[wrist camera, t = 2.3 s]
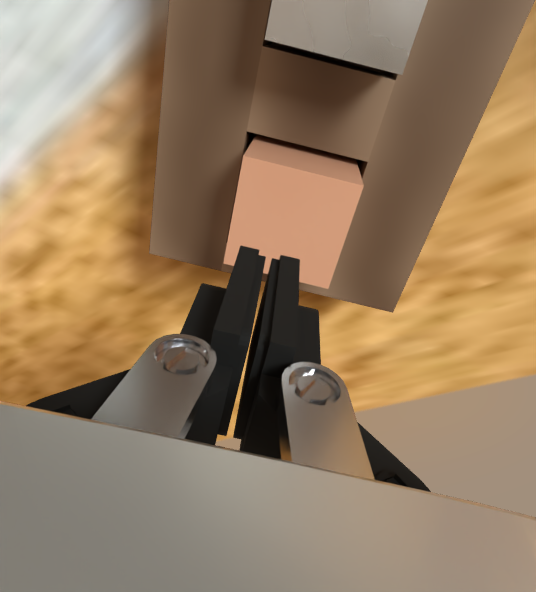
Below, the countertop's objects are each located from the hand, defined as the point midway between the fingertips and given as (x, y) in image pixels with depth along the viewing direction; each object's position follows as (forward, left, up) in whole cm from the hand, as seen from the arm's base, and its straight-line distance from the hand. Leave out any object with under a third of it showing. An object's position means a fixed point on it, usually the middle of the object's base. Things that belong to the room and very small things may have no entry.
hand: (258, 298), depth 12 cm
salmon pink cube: (-1, 0, -9) cm, 9 cm away
